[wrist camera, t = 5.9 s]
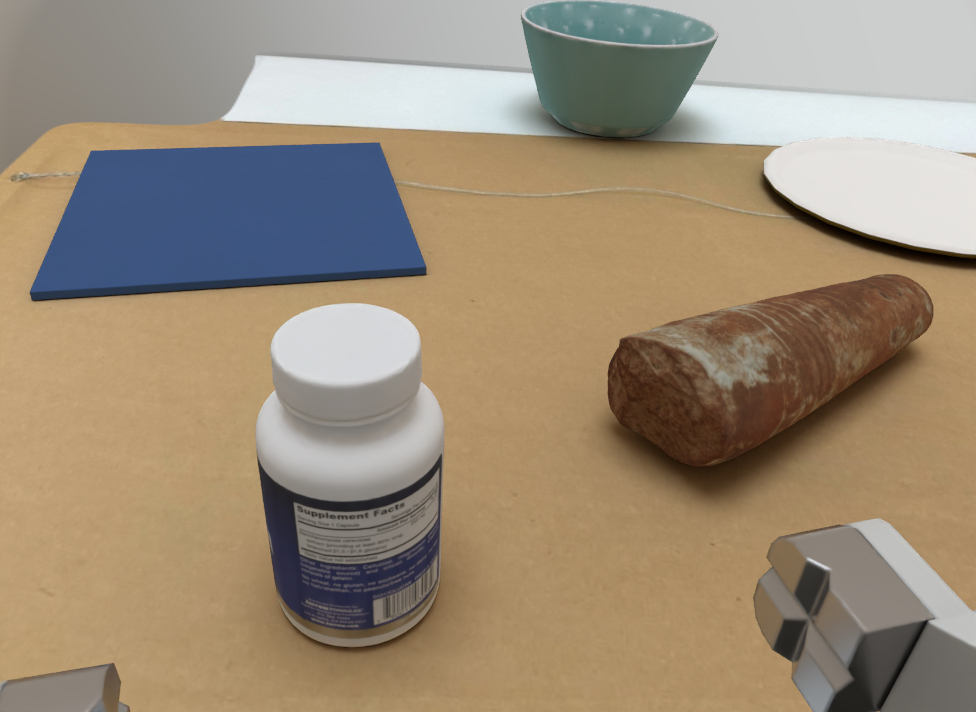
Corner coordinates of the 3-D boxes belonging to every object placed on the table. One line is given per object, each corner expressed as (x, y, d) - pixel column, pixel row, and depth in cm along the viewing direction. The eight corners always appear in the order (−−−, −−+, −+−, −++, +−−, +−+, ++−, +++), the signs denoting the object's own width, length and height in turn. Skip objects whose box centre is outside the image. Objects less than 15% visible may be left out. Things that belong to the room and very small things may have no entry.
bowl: (712, 112, 74) (733, 15, 69) (678, 167, 61) (699, 54, 57) (548, 84, 78) (557, -9, 74) (486, 131, 66) (491, 23, 61)
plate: (1104, 301, 47) (1114, 282, 46) (739, 224, 53) (743, 206, 53) (1052, 182, 63) (1059, 167, 63) (777, 134, 69) (780, 119, 69)
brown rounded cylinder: (584, 425, 35) (601, 313, 32) (850, 313, 44) (883, 218, 41) (692, 516, 31) (724, 396, 28) (961, 370, 40) (1008, 269, 37)
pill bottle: (290, 524, 29) (263, 286, 24) (440, 525, 30) (447, 291, 24) (261, 654, 25) (221, 397, 19) (439, 654, 25) (448, 401, 20)
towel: (31, 300, 41) (29, 292, 41) (92, 157, 57) (90, 150, 57) (426, 274, 45) (426, 266, 45) (379, 148, 61) (379, 142, 61)
